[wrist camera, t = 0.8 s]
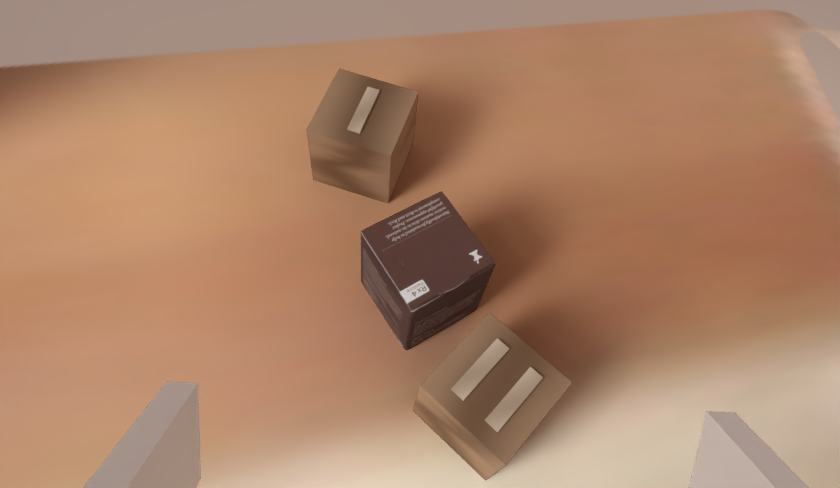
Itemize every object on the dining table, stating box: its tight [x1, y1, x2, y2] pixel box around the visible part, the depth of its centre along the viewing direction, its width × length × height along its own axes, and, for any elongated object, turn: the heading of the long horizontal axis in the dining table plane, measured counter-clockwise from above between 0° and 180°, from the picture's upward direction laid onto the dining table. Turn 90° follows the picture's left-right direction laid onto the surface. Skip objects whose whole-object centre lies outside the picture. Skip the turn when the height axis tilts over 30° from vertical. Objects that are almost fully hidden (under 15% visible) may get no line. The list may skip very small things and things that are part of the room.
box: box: [361, 192, 495, 350], centre depth 38 cm, size 6×6×7 cm
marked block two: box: [413, 312, 572, 480], centre depth 35 cm, size 6×6×6 cm
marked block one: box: [306, 69, 418, 203], centre depth 44 cm, size 6×6×6 cm
